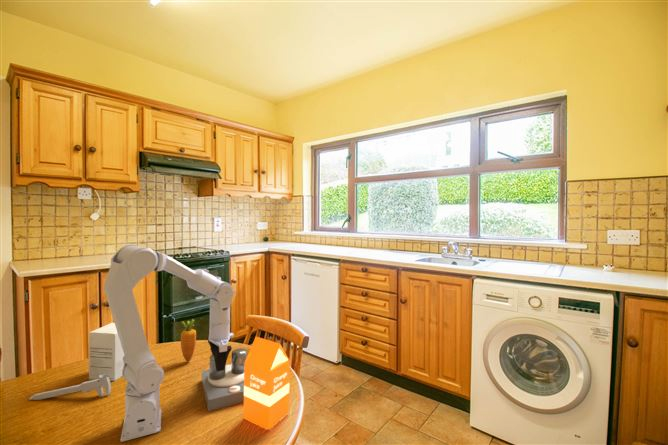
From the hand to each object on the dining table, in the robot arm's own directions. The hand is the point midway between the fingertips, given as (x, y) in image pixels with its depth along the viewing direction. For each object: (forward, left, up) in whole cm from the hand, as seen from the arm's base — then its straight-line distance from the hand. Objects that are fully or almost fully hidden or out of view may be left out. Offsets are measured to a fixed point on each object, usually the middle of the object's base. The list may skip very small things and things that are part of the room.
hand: (219, 366), depth 93 cm
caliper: (+14, +38, -7) cm, 41 cm away
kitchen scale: (-2, -3, -7) cm, 8 cm away
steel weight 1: (0, 0, -3) cm, 3 cm away
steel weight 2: (+1, -6, -3) cm, 7 cm away
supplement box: (+24, +29, -7) cm, 38 cm away
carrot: (+22, +7, -7) cm, 24 cm away
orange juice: (-19, -9, -7) cm, 22 cm away
